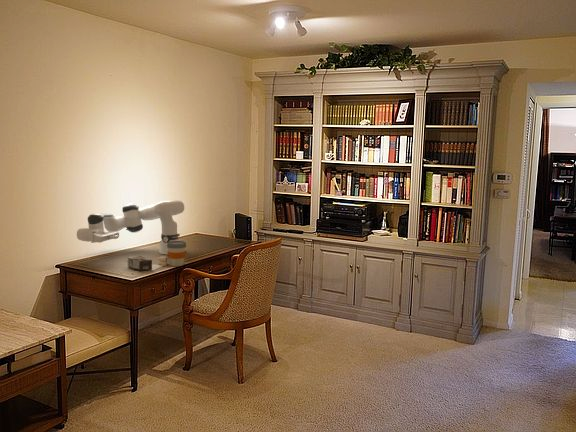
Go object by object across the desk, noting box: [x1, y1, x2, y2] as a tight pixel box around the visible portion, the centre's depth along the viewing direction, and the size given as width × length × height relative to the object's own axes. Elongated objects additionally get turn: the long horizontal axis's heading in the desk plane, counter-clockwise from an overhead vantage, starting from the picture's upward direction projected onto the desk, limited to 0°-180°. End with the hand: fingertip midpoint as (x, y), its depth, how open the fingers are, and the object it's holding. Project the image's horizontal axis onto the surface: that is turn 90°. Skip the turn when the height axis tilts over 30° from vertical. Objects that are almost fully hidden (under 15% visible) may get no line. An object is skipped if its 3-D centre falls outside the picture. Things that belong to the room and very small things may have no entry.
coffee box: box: [127, 255, 153, 272], centre depth 337 cm, size 9×6×16 cm
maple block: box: [157, 256, 168, 266], centre depth 351 cm, size 5×5×5 cm
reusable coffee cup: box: [167, 240, 187, 267], centre depth 351 cm, size 13×13×15 cm
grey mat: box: [150, 263, 164, 271], centre depth 342 cm, size 14×14×1 cm
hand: (117, 237), depth 345 cm, fingers closed
